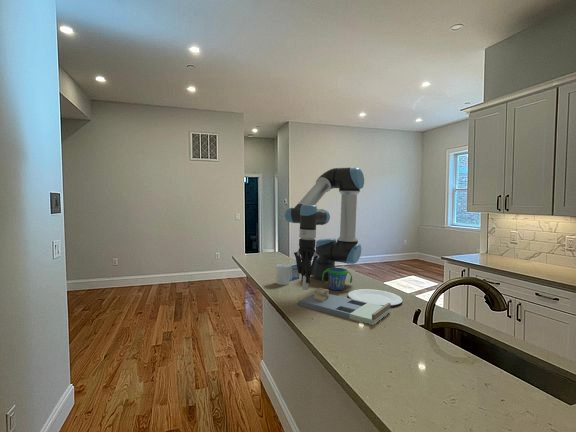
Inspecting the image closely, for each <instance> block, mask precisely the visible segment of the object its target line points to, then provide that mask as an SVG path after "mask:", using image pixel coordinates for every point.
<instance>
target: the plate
mask: <svg viewBox="0 0 576 432" xmlns="http://www.w3.org/2000/svg"><path fill="white" fill-rule="evenodd" d="M347 296H348V298H349V299H354V300H358V301H363V302H367V303H371V304H376V305H380V306H384V305H386V304H387V303H391V307H393V306H398V305H400V304H402V303H403V298H402V297H401V296H399V295H398V294H395V293H393V292H389V291H385V290H380V289H374V288H373V289H372V288H371V289H370V288H363V289H362V288H361V289H359V288H358V289H355V290H351V291H349V292H348V293H347Z"/></svg>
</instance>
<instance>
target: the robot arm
mask: <svg viewBox="0 0 576 432" xmlns="http://www.w3.org/2000/svg"><path fill="white" fill-rule="evenodd" d="M364 176H365V175H364V173H363V171H362V169H361V168H359V167H351V166H350V167H334V168H330V169H328V170H327V171H324V173H322V174H321V175H320V176H318V178H317V179H316V180H315V183H314V185H313V186H312V187H311V188H310V189H309V190H308V191H307V192H306V194H305V195H304V196H303V197H302V198H301V199H300V200H299V202H298V203H297V204H296V205H295V206H294V207H288V208H286V210H285V211H284V218H285V220H286V222H287V223H292V224H299V235H298V236H299V239H298V240H299V241H298V246H299V248H298V251H295V252H293V254H294V257H295V263H297V269H298V273H300V275H301V280H300V281H301V283H302V288H301V289H302V291H307V290H309V284H310V283H311V277H312V278H313V279H315V280H320V281H322V274H323V272H324V271H325V270H327V269H328V268H336V263H343V264H347V265H348V264H349V265H350V264H351V265H355V264H356V263H358V261H359V259H361V254H362V244H360V243H359V240H358V238H357V237H356V230H357V229H356V225H357V207H358V206H357V203H358V202H357V200H358V195H359V193H360V192H361V189H363V188H364V186H365V177H364ZM332 189H338V192H339V193H340V195H341V199H340V200H341V201H340V223H339V225H340V230H339V237H337V239H336V238H322V239H321V238H320V239H318V240H316V238H317V237H316V236H317V226H323V225H326V224H328V223H329V222H330V218H331V216H330V215H331V214H330V213H329V211H328V210H327V209H323V208H321V209H318V207H317V203H318V202H319V201H320V200H321V199H322V198H323V197H324V195H326V193H328V192H330V191H331V190H332ZM323 281H329V280H328V272H325V273H324V278H323Z"/></svg>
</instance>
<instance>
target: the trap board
mask: <svg viewBox="0 0 576 432" xmlns="http://www.w3.org/2000/svg"><path fill="white" fill-rule="evenodd" d="M314 297H315V293H314V294H312V295H309V296H307V297H304V298H303V299H299V300H298V306H300V307H304V308H306V309H312V310H315V311H318V312H319V311H320V312H323V313H327V314H330V315H334V316H338V317H342V318H345V319H349V320H351V321H352V320H353V321H355V322H360V323H363V322H364V323H363V324H367V323H369V324H368V325H371V324H373V325H372V326H375V325H377V324H378V323H379V322H380V321H382V320H383V319H384V318H385V317H387V316H388V315H389V314H390V313H391V308H392V306H391V303H387V304H386V305H384V306H380V305H376V304H371V303H367V302H363V301H358V300H354V299H351V298H349V297H344V296H341V295H335V294H331V293H328V299H327V300H324V301H321V300H317V299H314ZM388 313H389V314H388ZM387 314H388V315H387ZM386 315H387V316H386ZM384 316H385V317H384ZM383 317H384V318H383ZM382 318H383V319H382ZM381 319H382V320H381ZM379 320H380V321H379ZM378 321H379V322H378ZM377 322H378V323H377ZM376 323H377V324H376ZM374 324H375V325H374Z"/></svg>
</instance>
